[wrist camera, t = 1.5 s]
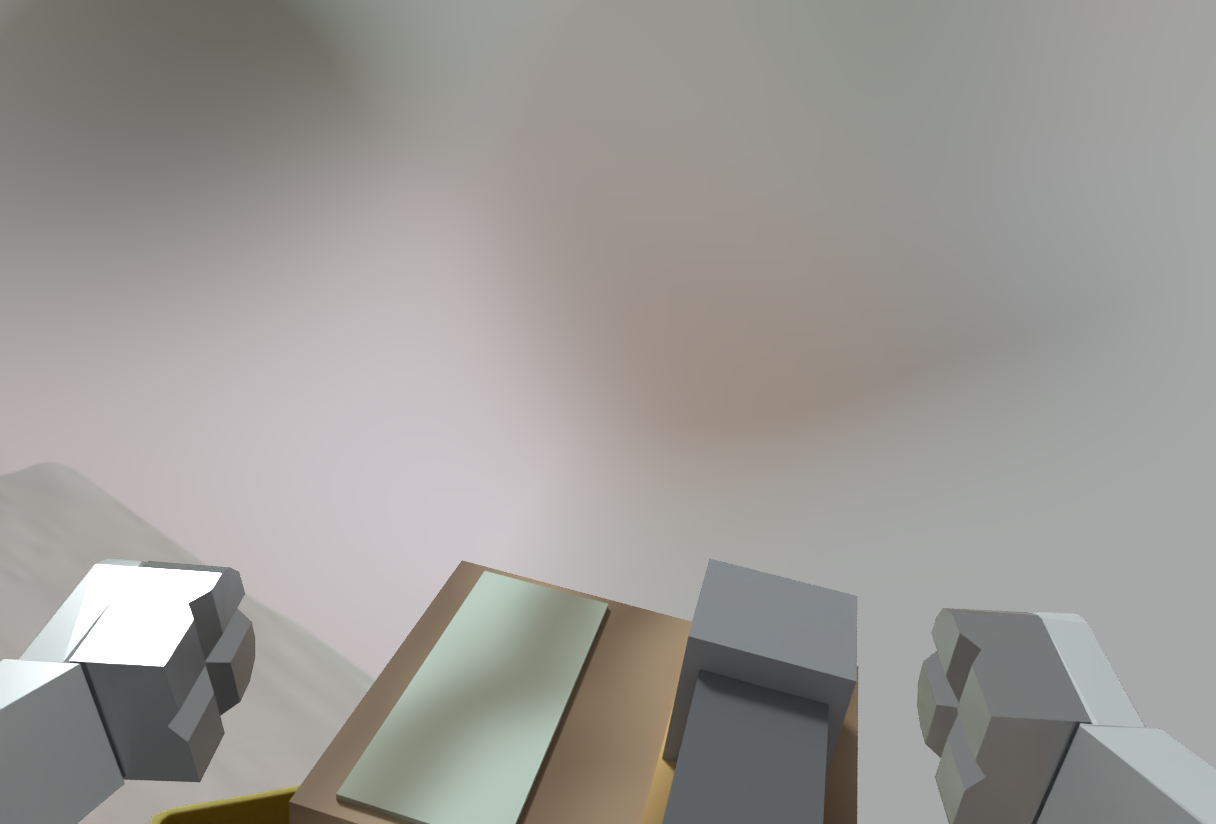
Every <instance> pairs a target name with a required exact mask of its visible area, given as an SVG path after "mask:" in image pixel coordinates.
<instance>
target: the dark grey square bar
mask: <svg viewBox="0 0 1216 824" xmlns="http://www.w3.org/2000/svg"><path fill="white" fill-rule="evenodd" d="M856 679H857V596H854V595H850V594H846V593H843V592H838V591H835V590H831V589H827V588H823V587H819V586H815V585H811V584H807V583H803V582H800V581H796V580H792V579H788V578H784V577H780V576H776V575H772V574H768V573H764V572H760V571H756V570H752V569H748V568H744V567H741V566H736V565H733V564H728V563H725V562H721V561H716V560H713V559H709V563H708V567H707V571H706V574H705V578H704V581H703V585H702V588H701V592H700V596H699V599H698V603H697V607H696V610H695V614H694V618H693V621H692V625H691V628H690V632H689V636H688V640H687V645H686V649H685V654H684V659H683V663H682V668H681V673H680V677H679V682H678V687H677V691H676V696H675V700H674V705H673V710H672V714H671V719H670V724H669V728H668V733H667V738H666V742H665V747H664V752H663V756H662V759H666V760H669V761H672V762H676V763H677V764H676V768H675V772H674V777H673V781H672V785H671V789H670V793H669V797H668V801H667V805H666V809H665V813H664V817H663V822H662V824H823V817H824V796H825V777H826V774H827V771H828V768H829V765H830V762H831V759H832V756H833V752H834V749H835V746H836V743H837V740H838V737H839V734H840V731H841V728H842V725H843V721H844V718H845V715H846V712H847V709H848V706H849V703H850V700H851V697H852V694H853V691H854V687H855V684H856Z"/></svg>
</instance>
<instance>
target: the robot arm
mask: <svg viewBox="0 0 1216 824" xmlns="http://www.w3.org/2000/svg"><path fill="white" fill-rule="evenodd" d="M244 595H245V592H244V588H243V584H242V581H241V578H240V574H239V572H238V571H236V570H234V569H232V568H229V567H216V566H204V565H192V564H179V563H167V562H155V561H148V562H142V561H131V560H119V559H108V558H107V559H105V560H103V561H101V562H99V563H97V564H95V565H94V566H93V567H92V568H91V569H90V571H89V572H88V573H87V574H86V576H85V577H84V578H83V579H82V581H81V582H80V583H79V584H78V586H77V587H76V588H75V589H74V591H73V592H72V593H71V594H70V596H69V597H68V598H67V599H66V601H65V602H64V603H63V604H62V606H61V607H60V608H59V609H58V611H57V612H56V613H55V614H54V616H53V617H52V618H51V619H50V621H49V622H48V623H47V624H46V626H45V627H44V628H43V629H42V631H41V632H40V633H39V634H38V636H37V637H36V638H35V639H34V641H33V642H32V643H31V644H30V646H29V647H28V648H27V649H26V651H25V652H24V653H23V654H22V656H21V657H20V658H19V659H18V660H13V659H4V660H2V661H0V824H77V823H78V822H79V821H81V820H82V819H83V818H84V817H85V816H87V815H88V814H89V813H90V812H91V811H93V810H94V809H95V808H96V807H97V806H99V805H100V804H101V803H102V802H103V801H104V800H106V799H107V798H108V797H109V796H110V795H112V794H113V793H114V792H115V791H116V790H118V789H119V788H120V787H121V786H122V785H124V780H123V779H126V780H154V781H182V782H200V781H201V779H202V777H203V775H204V773H205V771H206V769H207V767H208V765H209V763H210V761H211V759H212V757H213V755H214V753H215V751H216V749H217V747H218V745H219V743H220V741H221V739H222V737H223V735H224V729H223V725H222V721H221V718H220V716H221V715H222V714H223V713H225V712H226V711H228V710H229V709H231V708H232V707H233V706H235V705H236V704H238V703H239V702H240V701H241V699H242V697H243V695H244V692H245V690H246V688H247V686H248V684H249V682H250V678H251V673H252V669H253V664H254V660H255V635H254V631H253V626H252V622H251V621H250V620H249V619H248V618H247V617H246V616H245V615H244V614H243V613H241V612H240V611H239V610H238V609H237V607H238V605H239V604H240V602H241V600H242V598H243V596H244ZM932 636H933V639H934V642H935V645H936V648H937V651H936V652H935V653H934V654H933V655H931V656H930V657H929V658H927V659H926V660H924V661H923V665H922V669H921V673H920V677H919V681H918V701H917V707H918V714H919V721H920V727H921V730H922V734H923V737H924V741H925V744H926V745H927V746H928V747H929V748H930V749H931V750H933V751H934V752H935V753H936V754H937V755H938V756H939V757H940V758H941V760H940V763H939V766H938V770H937V773H936V776H935V778H936V782H937V786H938V789H939V792H940V796H941V799H942V802H943V805H944V809H945V812H946V815H947V819H948V822H949V824H1216V770H1215V769H1214V768H1212V767H1211V766H1210V765H1209V764H1207V763H1206V762H1204V761H1203V760H1202V759H1200V758H1199V757H1198V756H1196V755H1195V754H1193V753H1192V752H1191V751H1190V750H1188V749H1187V748H1185V747H1184V746H1183V745H1181V744H1180V743H1179V742H1177V741H1176V740H1175V739H1173V738H1172V737H1170V736H1169V735H1168V734H1166V733H1165V732H1163V731H1162V730H1161V729H1156V728H1146V727H1145V725H1144V723H1143V722H1142V720H1141V718H1140V716H1139V714H1138V712H1137V711H1136V709H1135V707H1134V705H1133V704H1132V702H1131V700H1130V698H1129V697H1128V695H1127V693H1126V691H1125V689H1124V688H1123V686H1122V684H1121V682H1120V680H1119V679H1118V677H1117V675H1116V673H1115V672H1114V670H1113V668H1112V666H1111V665H1110V662H1109V661H1108V659H1107V657H1106V655H1105V654H1104V652H1103V650H1102V648H1101V647H1100V645H1099V643H1098V641H1097V639H1096V637H1095V636H1094V634H1093V632H1092V630H1091V629H1090V627H1089V625H1088V623H1087V622H1086V620H1085V619H1084V618H1082V617H1081V616H1080V615H1078V614H1069V613H1045V612H1044V613H1043V612H1032V613H1027V612H1011V611H989V610H969V609H949V608H943V609H942V610H941V612H940V613H939V614H938V616H937V617H936V620H935V623H934V627H933V630H932Z"/></svg>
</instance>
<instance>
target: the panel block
mask: <svg viewBox="0 0 1216 824" xmlns="http://www.w3.org/2000/svg"><path fill="white" fill-rule="evenodd" d="M691 625H692V622H690V621H686V620H683V619H679V618H675V617H672V616H668V615H664V614H660V613H656V612H653V611H649V610H645V609H642V608H638V607H634V606H630V605H627V604H623V603H619V602H615V601H611V600H607V599H604V598H600V597H597V596H593V595H589V594H585V593H581V592H578V591H574V590H570V589H567V588H563V587H559V586H555V585H551V584H548V583H544V582H540V581H536V580H533V579H528V578H525V577H521V576H518V575H514V574H510V573H507V572H503V571H499V570H495V569H492V568H488V567H484V566H480V565H476V564H473V563H469V562H465V561H461V563H460V564H459V565H458V567H457V568H456V570H455V571H454V572H453V574H452V575H451V576H450V578H449V579H448V581H447V582H446V584H445V585H444V586H443V588H442V589H441V590H440V592H439V593H438V595H437V596H436V598H435V599H434V600H433V602H432V603H431V604H430V606H429V607H428V609H427V610H426V611H425V613H424V614H423V616H422V617H421V618H420V620H419V621H418V622H417V624H416V625H415V627H414V628H413V629H412V631H411V632H410V634H409V635H408V636H407V638H406V639H405V641H404V642H403V644H402V645H401V646H400V648H399V649H398V650H397V652H396V653H395V655H394V656H393V657H392V659H391V660H390V662H389V663H388V664H387V666H386V667H385V668H384V670H383V671H382V673H381V674H380V675H379V677H378V678H377V680H376V681H375V682H374V684H373V685H372V687H371V688H370V689H369V691H368V692H367V694H366V695H365V696H364V698H363V699H362V700H361V702H360V703H359V705H358V706H357V707H356V709H355V710H354V712H353V713H352V714H351V716H350V717H349V719H348V720H347V721H346V723H345V724H344V726H343V727H342V728H341V730H340V731H339V733H338V734H337V735H336V737H335V738H334V740H333V741H332V742H331V744H330V745H329V746H328V748H327V749H326V751H325V752H324V753H323V755H322V756H321V758H320V759H319V760H318V762H317V763H316V765H315V766H314V767H313V769H312V770H311V772H310V773H309V774H308V776H307V777H306V779H305V780H304V781H303V783H302V784H301V785H300V787H299V788H298V790H297V791H296V792H295V794H294V795H293V797H292V798H291V799H290V801H289V824H662V822H663V817H664V813H665V809H666V805H667V801H668V797H669V793H670V789H671V785H672V781H673V777H674V772H675V768H676V764H677V763H676V762H672V761H669V760H666V759H662V756H663V752H664V747H665V742H666V738H667V733H668V728H669V724H670V719H671V714H672V710H673V705H674V700H675V696H676V691H677V687H678V682H679V677H680V673H681V668H682V663H683V659H684V654H685V649H686V645H687V640H688V636H689V632H690V628H691ZM857 743H858V666H857V679H856V684H855V687H854V691H853V694H852V697H851V700H850V703H849V706H848V709H847V712H846V715H845V718H844V721H843V725H842V728H841V731H840V734H839V737H838V740H837V743H836V746H835V749H834V752H833V756H832V759H831V762H830V765H829V768H828V771H827V774H826V777H825V796H824V817H823V824H857V754H858V753H857V751H858V747H857V745H858V744H857Z"/></svg>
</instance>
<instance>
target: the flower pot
mask: <svg viewBox="0 0 1216 824" xmlns="http://www.w3.org/2000/svg"><path fill="white" fill-rule="evenodd" d="M299 787H300V785H299V786H295V787H289V788H284V789H278V790H273V791H268V792H262V793H257V794H252V795H246V796H240V797H234V798H229V799H223V800H216V801H210V802H205V803H199V804H193V805H187V806H182V807H176V808H172V809H169V810H166V811H163V812H160V813H157V814H155V815H153V816H152V818H151V820H150V824H289V801H290V799H291V798H292V797H293V795H294V794H295V792H296V791H297V790H298V788H299Z"/></svg>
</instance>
